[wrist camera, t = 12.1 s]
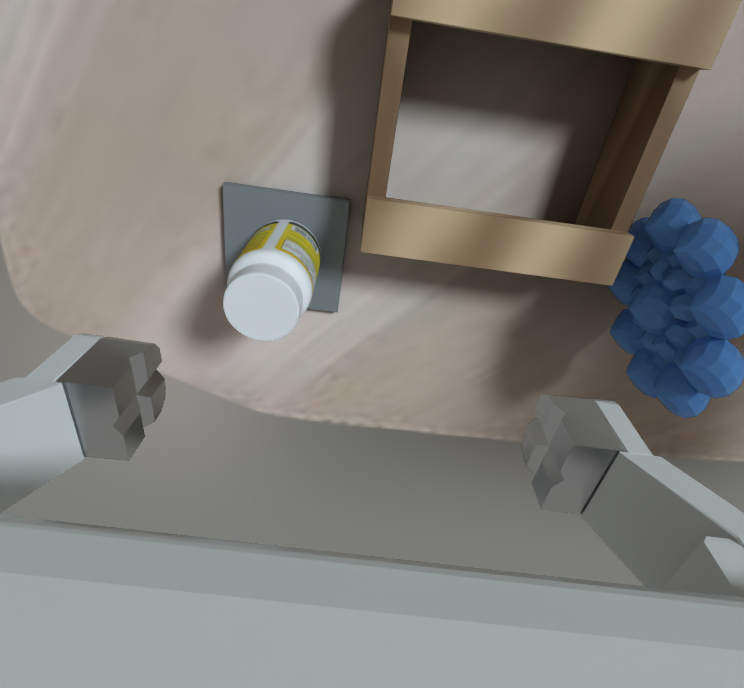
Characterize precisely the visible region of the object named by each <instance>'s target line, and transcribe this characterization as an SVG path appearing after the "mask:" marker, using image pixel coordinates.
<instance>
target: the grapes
mask: <svg viewBox="0 0 744 688" xmlns="http://www.w3.org/2000/svg"><path fill="white" fill-rule="evenodd" d="M628 233H630V234H631V235H633V236H635V237H634V239H633V241H632V244H631V246H630V248H629V250H628V252H627V255H626V256H627V258H628V259H629V260H627V261H625V262H623V263H622V266H621V268H620V270H619V272H618V274H617V277H616V279H615V281H614V283H613V285H612V286H610V285H608V286H609V288H610V290H611V291H612V293H613V294H614V296H615V297H616V298H617V299H618V300H619V301H620V302H621V303H622V304H624V305H627V306H628V309H625V310H623V311H622V312H621V313H620V314H619V315H618V316H617V317H616V319H615V321H614V323H613V325H612V327H611V329H610V333H611V335H612V336H613V338H614V339H615V341H616V342H617V344H618V345H619V346H620V347H621V348H622V349H623V350H624V351H625V352H628V353H630V354H633V355H634V356H633V358H632V359H631V361H630V363H629V365H628V368H627V371H626V373H627V375H628V376H629V378H630V379H631V381H632V382H633V384H634V385H635V386H636V387H637V388H638V389H639V390H640V391H641V392H642V393H643V394H645V395H648V396H650V397H652V398H656V397H658V398H659V400H660V401H661V403H662V404H663V405H664V406H665V407H666V408H667V409H668V410H669V411H670V412H671V413H673V414H676V415H678V416H680V417H683V418H688V417H696V416H697V415H699V414H700V413H701V412H702V411H703V410H704V409H706V407H707V405H708V403H709V401H710V399H711V397H712V398H719V397H725V396H729V395H730V394H732V393H733V392H734V391H735V390H736V389H738V388H739V387H740V385H741V383H742V381H743V379H744V358H743V356H742V355H741V353H740V352H739V350H738V349H737V348H736V347H735V346H734V345H733V344H732V343H730V342H729V341H728V340H729V339H733V338H737V337H741V336H742V335H743V334H744V283H743V282H742V281H741V280H739V279H738V278H735V277H730V276H725V272H726V271H727V270H728V269H729V268H730V267H731V266H732V265H733V263H734V261H735V259H736V257H737V255H738V252H739V243H738V239H737V238H736V236H735V234H734V233H733V231H732V230H731V228H730V227H729V226H727V225H726V224H724V223H723V222H722V221H720V220H719V219H712V218H701V216H700V214H699V213H698V211H697V209H696V208H695V206H693V205H692V204H690V203H689V202H688V201H686V200H685V199H678V198H671V199H669V200H667V201H665V202H663V203H660V205H659V206H658V207H657V208H656V209H655V210H654V211H653V212H652V214H651V216H650V217H649V218H646V217H644V218H642V219H639V220H637V221H635V222H634V223H633V224H632V225H631V226H630V228H629V230H628Z"/></svg>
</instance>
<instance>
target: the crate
mask: <svg viewBox="0 0 744 688" xmlns="http://www.w3.org/2000/svg"><path fill="white" fill-rule="evenodd" d="M741 1H742V0H391V6H390V14H389V22H388V30H387V37H386V45H385V53H384V61H383V68H382V76H381V84H380V92H379V99H378V107H377V115H376V123H375V131H374V138H373V146H372V154H371V162H370V169H369V177H368V185H367V193H366V201H365V208H364V216H363V224H362V236H361V249H360V252H365V253H372V254H380V255H387V256H395V257H402V258H410V259H417V260H424V261H432V262H439V263H447V264H454V265H462V266H469V267H476V268H484V269H491V270H499V271H506V272H514V273H521V274H528V275H536V276H543V277H551V278H558V279H566V280H573V281H580V282H588V283H595V284H603V285H610V286H612V285H613V283H614V281H615V279H616V277H617V274H618V272H619V270H620V268H621V266H622V263H623V261H624V259H625V257H626V255H627V252H628V250H629V248H630V246H631V244H632V241H633V239H634V237H635V236H633V235H631V234H630V233H628V230H629V228H630V226H631V224H632V221H633V219H634V217H635V215H636V212H637V210H638V208H639V206H640V203H641V201H642V199H643V197H644V194H645V192H646V190H647V188H648V185H649V183H650V181H651V179H652V176H653V174H654V172H655V170H656V167H657V165H658V163H659V161H660V158H661V156H662V154H663V151H664V149H665V147H666V145H667V142H668V140H669V138H670V136H671V133H672V131H673V129H674V127H675V124H676V122H677V120H678V118H679V115H680V113H681V111H682V109H683V106H684V104H685V102H686V100H687V97H688V95H689V93H690V91H691V88H692V86H693V84H694V82H695V79H696V77H697V75H698V73H699V70H711V67H712V65H713V63H714V61H715V59H716V56H717V54H718V52H719V50H720V48H721V45H722V43H723V41H724V39H725V37H726V34H727V32H728V30H729V28H730V26H731V23H732V21H733V19H734V17H735V15H736V12H737V10H738V8H739V6H740V4H741ZM412 20H413V21H419V22H425V23H431V24H437V25H442V26H448V27H454V28H460V29H466V30H472V31H477V32H483V33H489V34H495V35H501V36H507V37H512V38H518V39H524V40H530V41H536V42H542V43H548V44H553V45H559V46H565V47H571V48H577V49H583V50H588V51H594V52H600V53H606V54H612V55H618V56H623V57H629V58H635V59H636V62H635V65H634V67H633V70H632V73H631V75H630V78H629V81H628V83H627V86H626V88H625V91H624V94H623V96H622V99H621V102H620V104H619V107H618V110H617V112H616V115H615V118H614V120H613V123H612V126H611V128H610V131H609V134H608V136H607V139H606V142H605V144H604V147H603V149H602V152H601V155H600V157H599V160H598V163H597V165H596V168H595V171H594V173H593V176H592V179H591V181H590V184H589V187H588V189H587V192H586V195H585V197H584V200H583V203H582V205H581V208H580V211H579V213H578V216H577V218H576V221H575V224H567V223H561V222H554V221H547V220H540V219H533V218H526V217H519V216H512V215H505V214H498V213H491V212H484V211H477V210H470V209H463V208H456V207H449V206H442V205H435V204H428V203H421V202H414V201H407V200H400V199H393V198H386V191H387V184H388V177H389V171H390V164H391V158H392V151H393V144H394V138H395V131H396V124H397V118H398V111H399V105H400V98H401V91H402V85H403V78H404V71H405V65H406V58H407V52H408V45H409V38H410V32H411V25H412Z"/></svg>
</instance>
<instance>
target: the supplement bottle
mask: <svg viewBox="0 0 744 688" xmlns="http://www.w3.org/2000/svg"><path fill="white" fill-rule="evenodd" d="M320 263H321V250H320V246H319V243H318V241H317V239H316V237H315V236H314V235H313V233H312V232H311V231H310V230H309V229H308V228H306V227H305V226H304V225H302V224H300V223H298V222H295V221H292V220H286V219H280V220H274V221H270V222H268V223H266V224H264V225H263V226H261V227H260V228H259V229H258V230H257V231H256V233H255V234H254V235H253V237H252V238H251V239H250V241H249V242H248V244H247V245H246V247H245V248H244V250H243V251H242V252H241V254H240V255H239V257H238V258H237V259H236V261H235V262H234V264H233V265H232V267H231V269H230V272H229V275H228V280H227V288H226V290H225V293H224V297H223V309H224V312H225V315H226V318H227V319H228V321H229V322H230V324H231V325H232V326H233V327H234V328H235V329H236V330H237V331H238V332H240V333H241V334H243V335H244V336H246V337H249V338H251V339H255V340H259V341H272V340H276V339H280V338H282V337H284V336H286V335H287V334H288V333H289V332H291V331H292V329H293V328H294V327H295V325H296V324H297V321H298V319H299V318H300V317H301V316H302V315H303V314H304V312H305V311H306V310H307V308H308V306H309V304H310V302H311V298H312V295H313V291H314V287H315V283H316V279H317V275H318V271H319V267H320Z"/></svg>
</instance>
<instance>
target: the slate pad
mask: <svg viewBox="0 0 744 688" xmlns="http://www.w3.org/2000/svg"><path fill="white" fill-rule="evenodd" d="M349 205H350V200H349V199H342V198H335V197H328V196H321V195H314V194H307V193H300V192H293V191H286V190H279V189H272V188H265V187H258V186H251V185H244V184H237V183H230V182H225V183H223V208H224V237H225V267H226V288H227V280H228V275H229V272H230V269H231V267H232V265H233V264H234V262H235V261H236V259H237V258H238V257H239V255H240V254H241V252H242V251H243V250H244V248H245V247H246V245H247V244H248V242H249V241H250V239H251V238H252V237H253V235H254V234H255V233H256V231H257V230H258V229H259V228H260V227H261V226H263V225H264V224H266V223H268V222H270V221H274V220H280V219H286V220H292V221H295V222H298V223H300V224H302V225H304V226H305V227H306V228H308V229H309V230H310V231H311V232H312V233H313V235H314V236H315V237H316V239H317V241H318V243H319V246H320V250H321V263H320V267H319V271H318V275H317V279H316V283H315V287H314V291H313V295H312V298H311V302H310V304H309V306H308V308H307V309H314V310H322V311H330V312H338V304H339V295H340V286H341V277H342V268H343V259H344V250H345V241H346V232H347V223H348V214H349Z"/></svg>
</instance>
